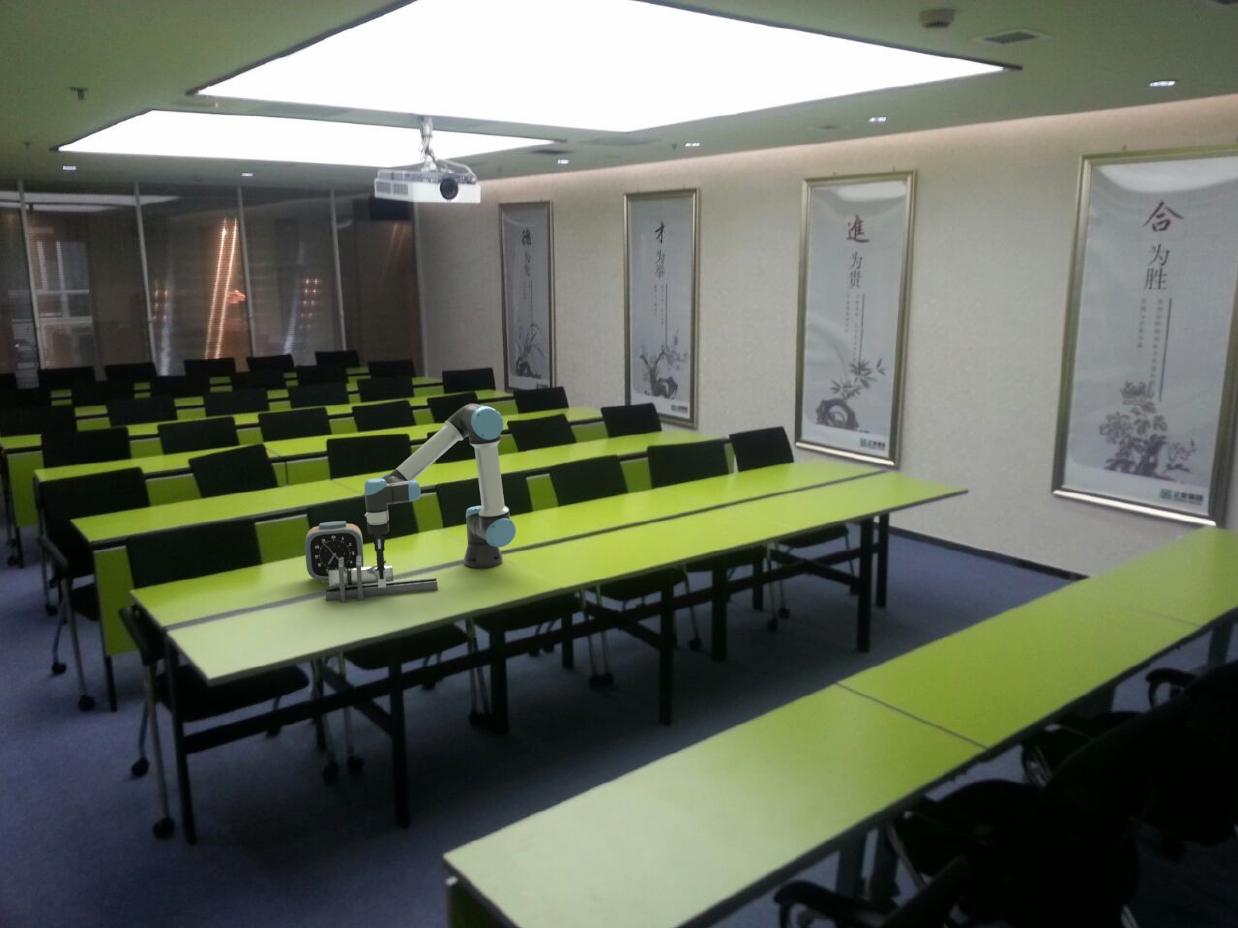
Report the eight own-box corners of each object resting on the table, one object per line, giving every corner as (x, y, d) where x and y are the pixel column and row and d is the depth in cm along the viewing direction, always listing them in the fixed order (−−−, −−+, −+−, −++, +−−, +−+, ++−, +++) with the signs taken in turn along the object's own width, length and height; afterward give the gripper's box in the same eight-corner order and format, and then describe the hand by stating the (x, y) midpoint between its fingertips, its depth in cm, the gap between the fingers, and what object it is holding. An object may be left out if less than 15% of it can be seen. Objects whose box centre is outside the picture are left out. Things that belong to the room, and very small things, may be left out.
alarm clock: (307, 585, 348) (303, 529, 344) (309, 577, 357) (304, 522, 353) (364, 579, 353) (360, 524, 349) (364, 572, 362) (360, 518, 358)
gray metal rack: (436, 582, 348) (434, 548, 346) (438, 592, 337) (436, 558, 334) (326, 593, 339) (324, 558, 336) (325, 604, 327) (322, 568, 324)
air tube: (393, 578, 341) (392, 562, 340) (393, 583, 335) (392, 567, 334) (330, 584, 335) (328, 568, 334) (329, 589, 329) (328, 572, 328)
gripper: (366, 516, 341) (371, 577, 345) (366, 529, 323) (371, 593, 327) (387, 515, 342) (392, 575, 347) (389, 527, 324) (393, 591, 329)
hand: (382, 584), depth 337 cm, fingers closed on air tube, 6 cm apart
